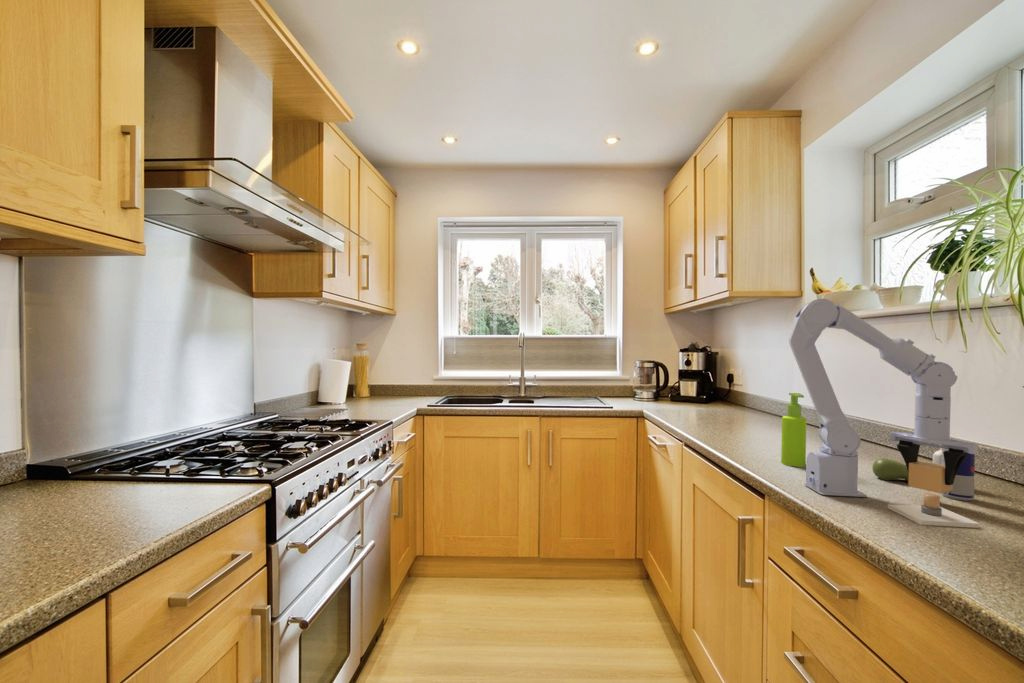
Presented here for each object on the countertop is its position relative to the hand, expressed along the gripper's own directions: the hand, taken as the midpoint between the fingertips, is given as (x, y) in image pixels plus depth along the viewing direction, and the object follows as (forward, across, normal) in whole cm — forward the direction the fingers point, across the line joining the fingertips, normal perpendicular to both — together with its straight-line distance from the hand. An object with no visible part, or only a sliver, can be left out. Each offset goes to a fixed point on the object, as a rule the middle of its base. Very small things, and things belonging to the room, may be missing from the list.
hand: (930, 480), depth 102 cm
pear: (+5, +12, -14) cm, 19 cm away
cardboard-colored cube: (+2, 0, 0) cm, 2 cm away
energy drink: (+5, -1, -10) cm, 11 cm away
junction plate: (+5, -4, +11) cm, 13 cm away
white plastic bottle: (+5, +4, -20) cm, 21 cm away
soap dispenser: (+5, +32, -6) cm, 33 cm away
